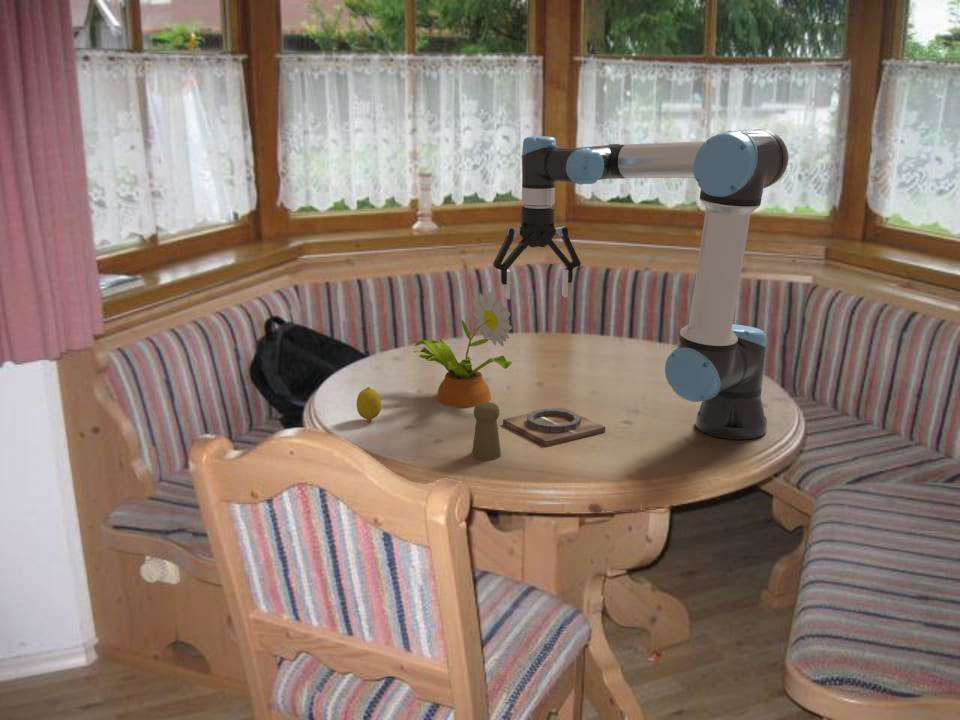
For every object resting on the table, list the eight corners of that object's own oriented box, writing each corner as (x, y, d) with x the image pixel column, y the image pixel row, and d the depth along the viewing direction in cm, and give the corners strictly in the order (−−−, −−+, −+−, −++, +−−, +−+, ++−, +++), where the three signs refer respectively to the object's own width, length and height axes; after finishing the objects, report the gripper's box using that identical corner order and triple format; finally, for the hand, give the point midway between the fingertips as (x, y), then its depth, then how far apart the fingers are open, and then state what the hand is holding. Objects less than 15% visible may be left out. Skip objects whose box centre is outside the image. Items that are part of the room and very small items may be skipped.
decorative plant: (532, 400, 234) (534, 297, 227) (459, 424, 218) (458, 315, 211) (455, 376, 253) (455, 280, 246) (382, 396, 237) (379, 295, 230)
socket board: (605, 432, 214) (605, 421, 213) (546, 446, 205) (546, 435, 205) (560, 411, 226) (560, 401, 226) (503, 424, 218) (503, 413, 217)
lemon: (358, 426, 217) (356, 391, 215) (356, 417, 222) (355, 384, 220) (383, 424, 218) (382, 390, 216) (380, 416, 223) (379, 382, 221)
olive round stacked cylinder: (500, 449, 204) (500, 399, 201) (501, 460, 198) (502, 408, 195) (471, 449, 204) (471, 399, 201) (472, 460, 198) (472, 409, 195)
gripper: (587, 203, 229) (584, 292, 235) (481, 204, 225) (481, 295, 231) (595, 207, 221) (592, 299, 227) (486, 209, 218) (485, 302, 224)
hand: (536, 297), depth 229 cm, fingers open, 13 cm apart
